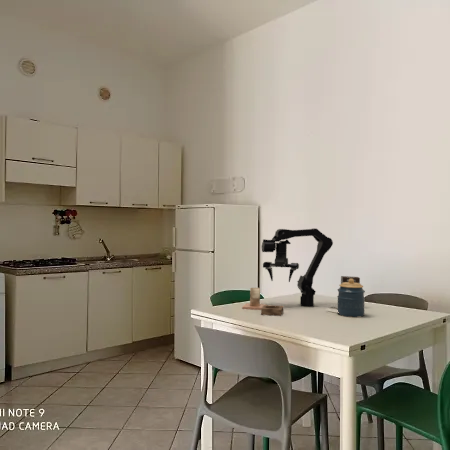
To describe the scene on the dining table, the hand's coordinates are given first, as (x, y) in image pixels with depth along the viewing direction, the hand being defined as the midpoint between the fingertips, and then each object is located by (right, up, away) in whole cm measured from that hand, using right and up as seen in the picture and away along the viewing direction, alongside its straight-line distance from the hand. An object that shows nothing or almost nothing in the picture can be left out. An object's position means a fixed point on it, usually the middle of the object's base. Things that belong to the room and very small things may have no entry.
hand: (280, 281), depth 236 cm
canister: (+32, -14, -21) cm, 40 cm away
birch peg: (-14, -12, -7) cm, 20 cm away
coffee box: (+37, -14, +1) cm, 40 cm away
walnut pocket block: (-7, -13, -21) cm, 25 cm away
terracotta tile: (-14, -13, -7) cm, 20 cm away
